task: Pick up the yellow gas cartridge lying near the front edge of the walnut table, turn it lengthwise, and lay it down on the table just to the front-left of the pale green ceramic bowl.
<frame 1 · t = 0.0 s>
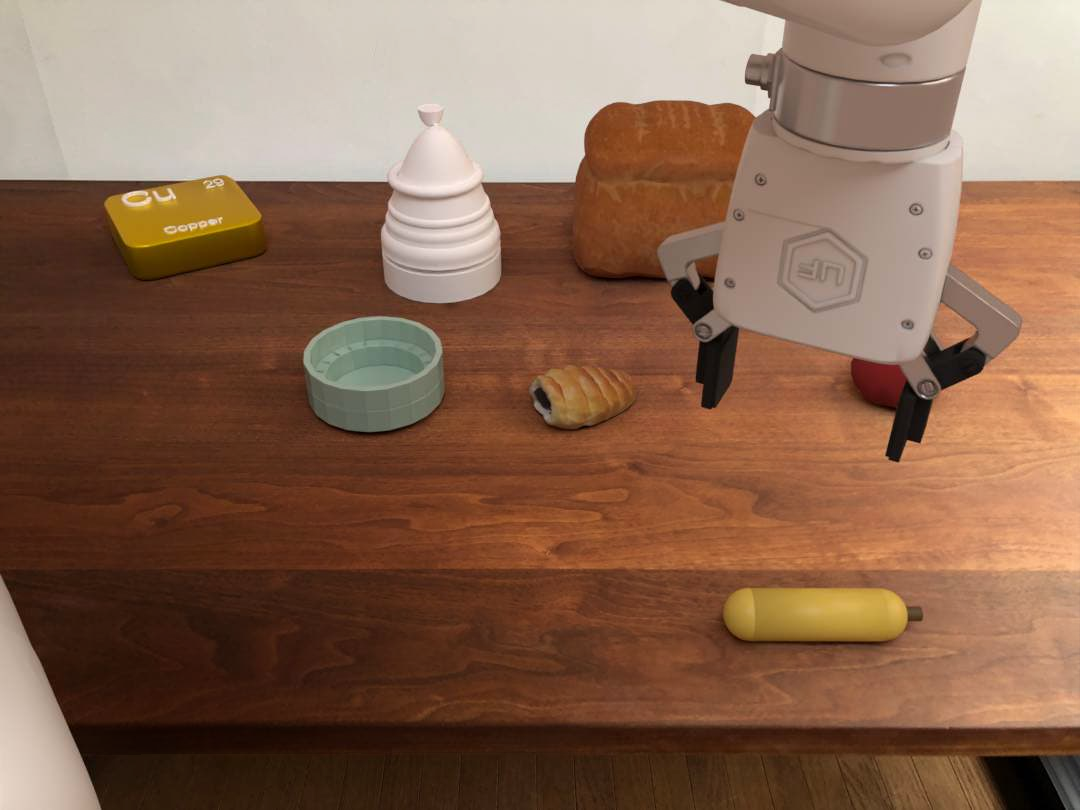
hand: (804, 420, 55), 23 cm above the table, tool pointing down, fingers open, 9 cm apart
honey pot: (443, 275, 116), on the table
pastry: (578, 409, 96), on the table
yellow gas cartridge: (810, 632, 74), on the table
cup: (870, 224, 127), on the table
tomato: (892, 397, 97), on the table
element tile: (189, 243, 122), on the table
bread: (666, 254, 120), on the table
bowl: (377, 397, 97), on the table
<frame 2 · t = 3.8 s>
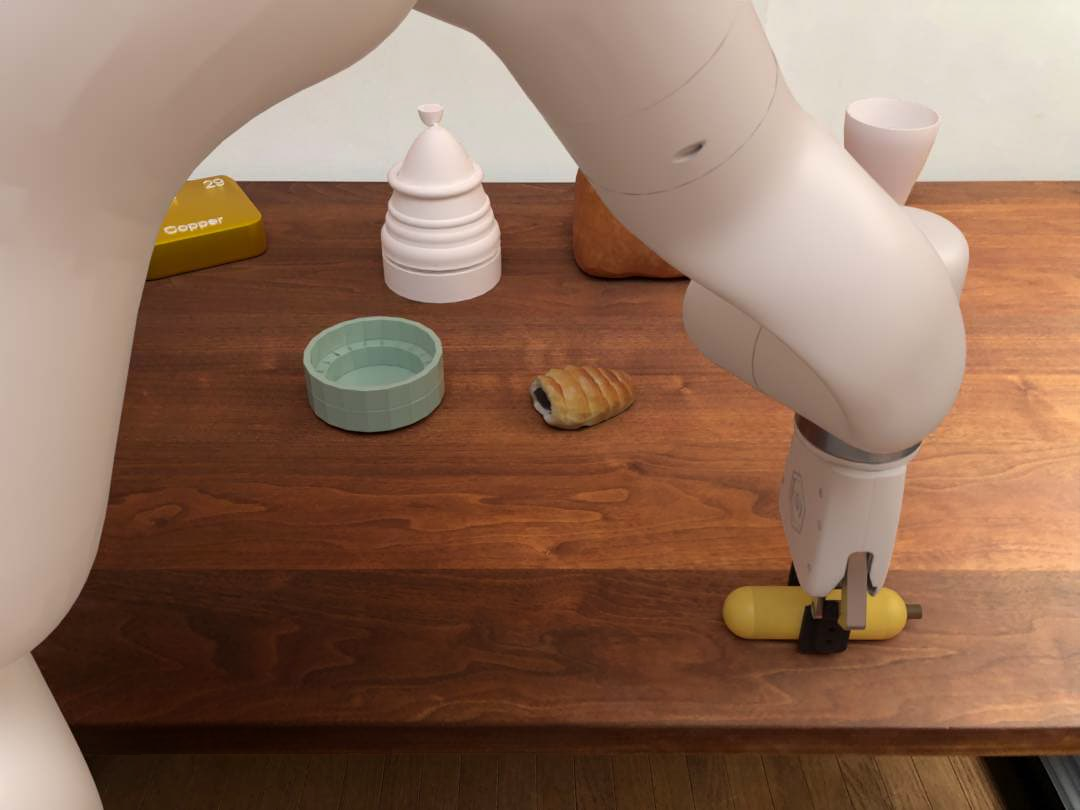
hand: (814, 623, 73), 1 cm above the table, tool pointing down, fingers closed on yellow gas cartridge, 3 cm apart
yellow gas cartridge: (811, 633, 74), on the table, tilted 10°, touching gripper
everything else where it was.
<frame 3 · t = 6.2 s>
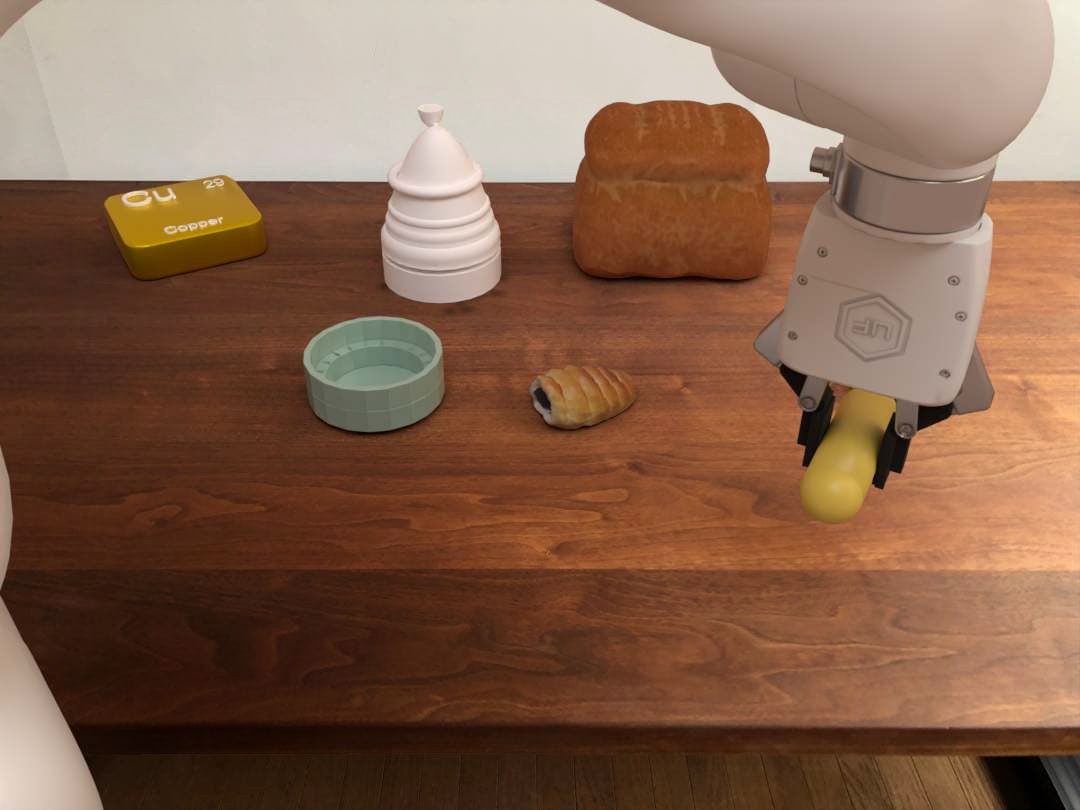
hand: (848, 463, 65), 15 cm above the table, tool pointing down, fingers closed on yellow gas cartridge, 3 cm apart
yellow gas cartridge: (850, 475, 65), point 14 cm above the table, tilted 10°, touching gripper
everything else where it was.
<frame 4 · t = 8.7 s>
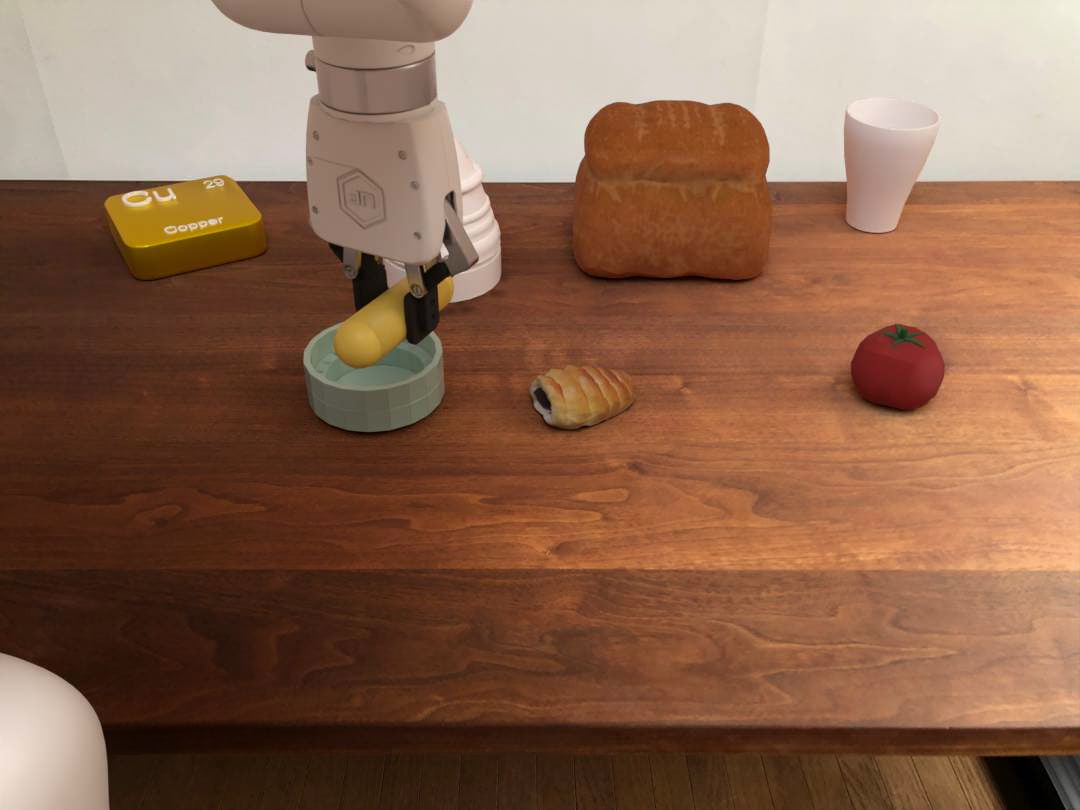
hand: (398, 325, 77), 15 cm above the table, tool pointing down, fingers closed on yellow gas cartridge, 3 cm apart
yellow gas cartridge: (401, 336, 78), point 15 cm above the table, tilted 10°, touching gripper
everything else where it was.
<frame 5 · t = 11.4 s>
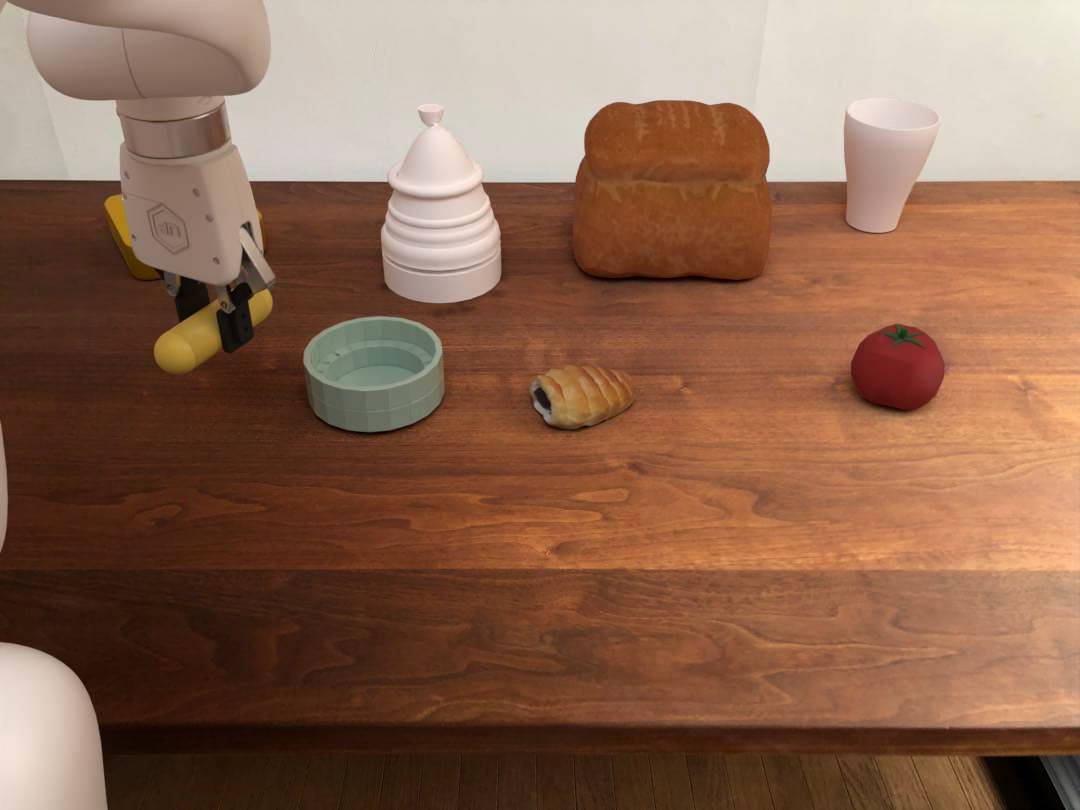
hand: (218, 337, 88), 9 cm above the table, tool pointing down, fingers closed on yellow gas cartridge, 3 cm apart
yellow gas cartridge: (222, 345, 89), point 8 cm above the table, tilted 10°, touching gripper
everything else where it was.
when the fingers open (1 cm above the table, at t = 13.5 s): yellow gas cartridge stays where it is, on the table.
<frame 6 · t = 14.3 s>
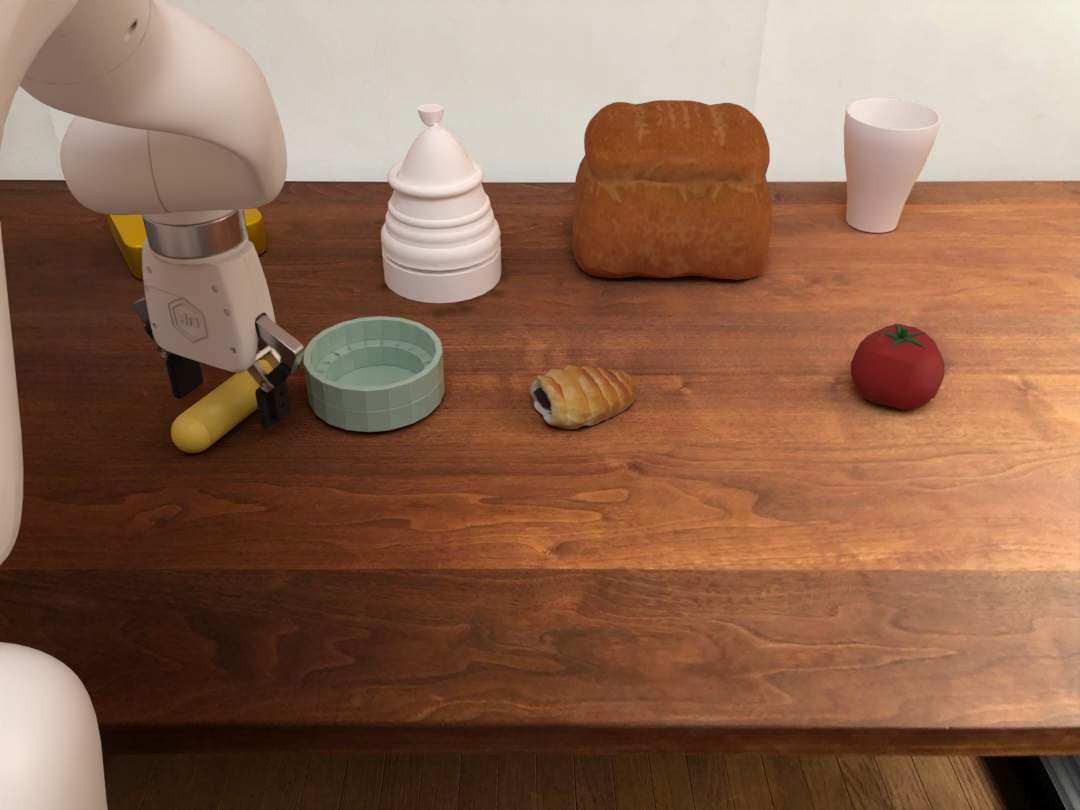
hand: (232, 405, 92), 2 cm above the table, tool pointing down, fingers open, 9 cm apart
yellow gas cartridge: (237, 422, 93), on the table, tilted 21°
everything else where it was.
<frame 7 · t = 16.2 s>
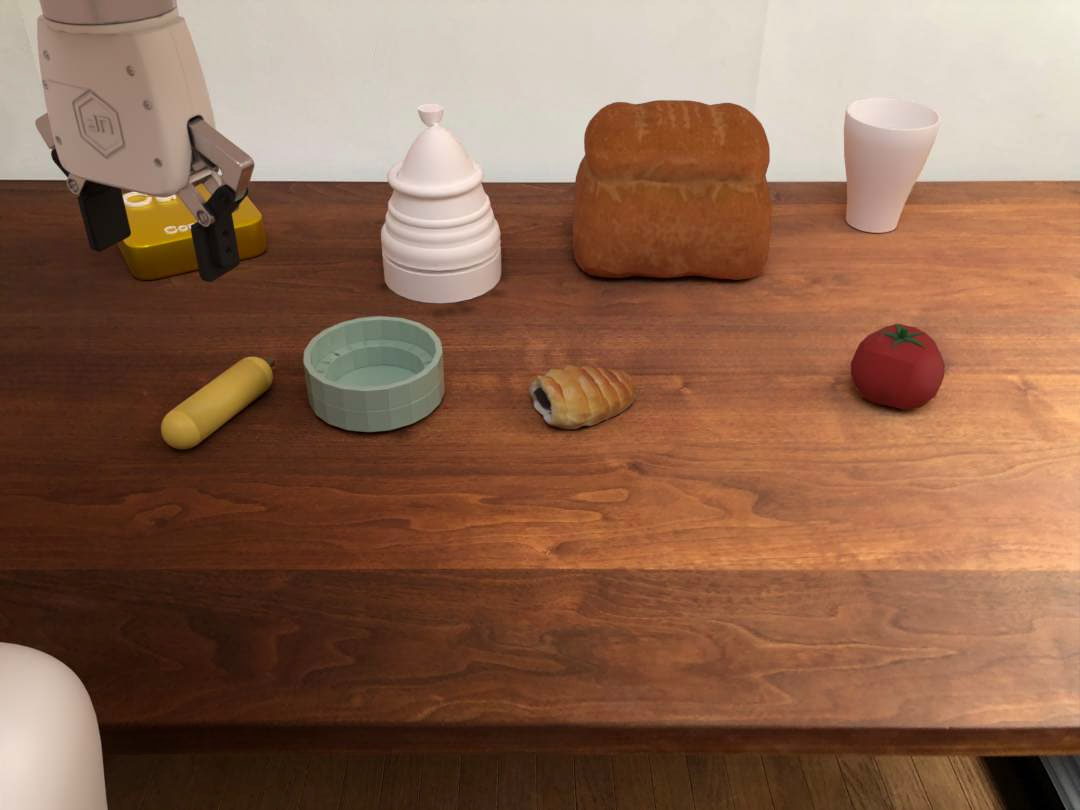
hand: (165, 258, 71), 22 cm above the table, tool pointing down, fingers open, 9 cm apart
yellow gas cartridge: (234, 415, 93), point 1 cm above the table, tilted 56°
everything else where it was.
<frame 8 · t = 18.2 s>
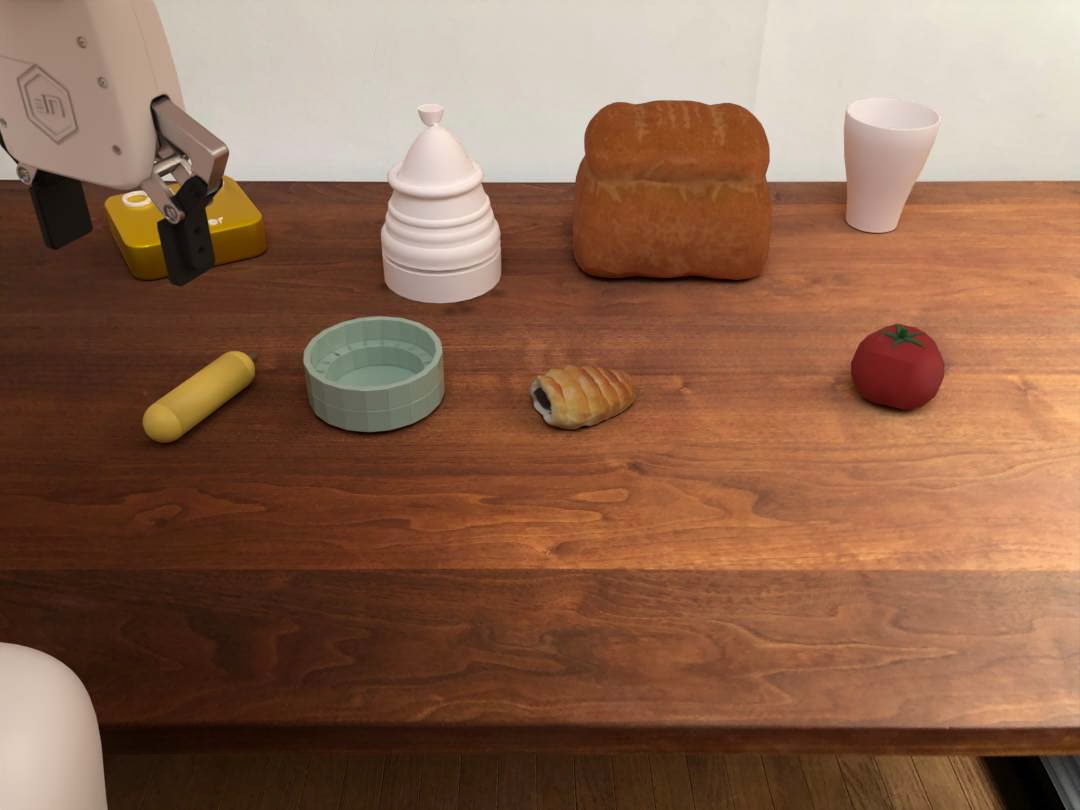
hand: (130, 257, 63), 26 cm above the table, tool pointing down, fingers open, 9 cm apart
yellow gas cartridge: (212, 391, 93), point 3 cm above the table, tilted 121°
everything else where it was.
at the end: yellow gas cartridge inside the target area on the table beside the bowl (2.0 cm from its centre), point 2.7 cm above the table; yellow gas cartridge touching table; the gripper is holding nothing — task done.
